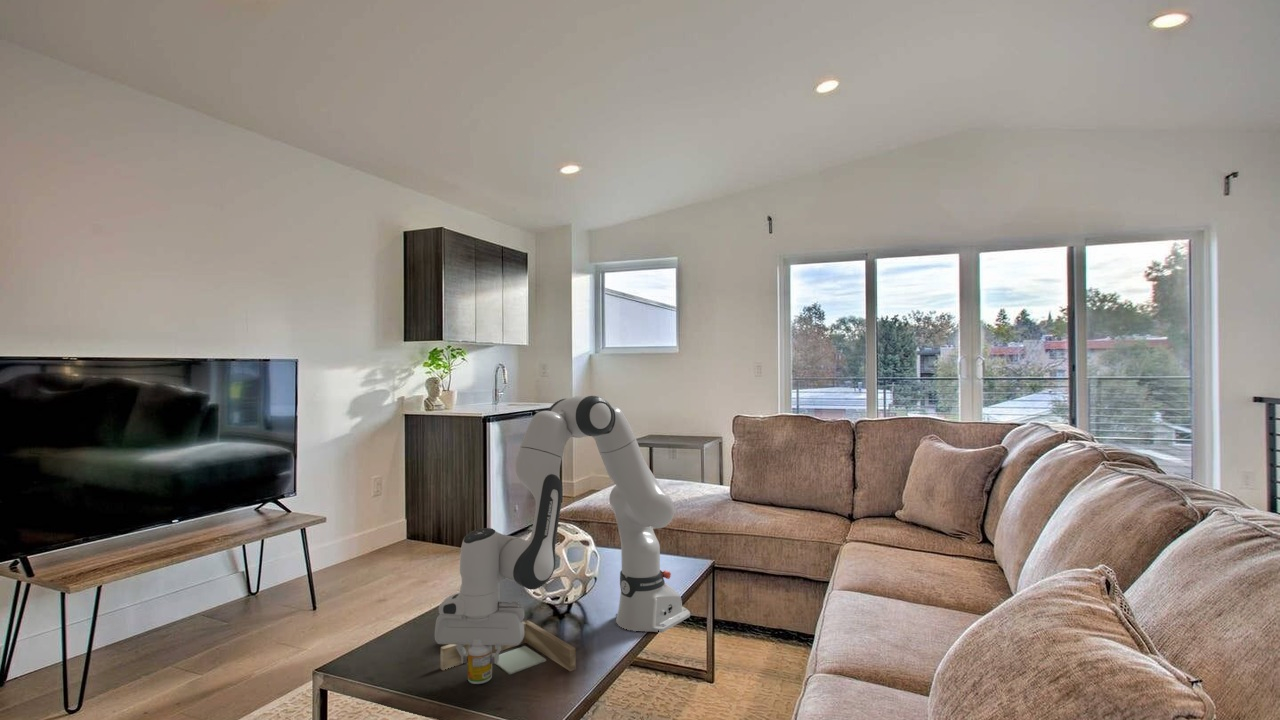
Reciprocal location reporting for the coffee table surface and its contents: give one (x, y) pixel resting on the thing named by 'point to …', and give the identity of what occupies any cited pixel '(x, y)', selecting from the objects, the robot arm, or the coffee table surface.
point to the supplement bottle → (479, 663)
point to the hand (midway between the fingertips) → (480, 662)
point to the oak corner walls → (532, 636)
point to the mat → (519, 659)
